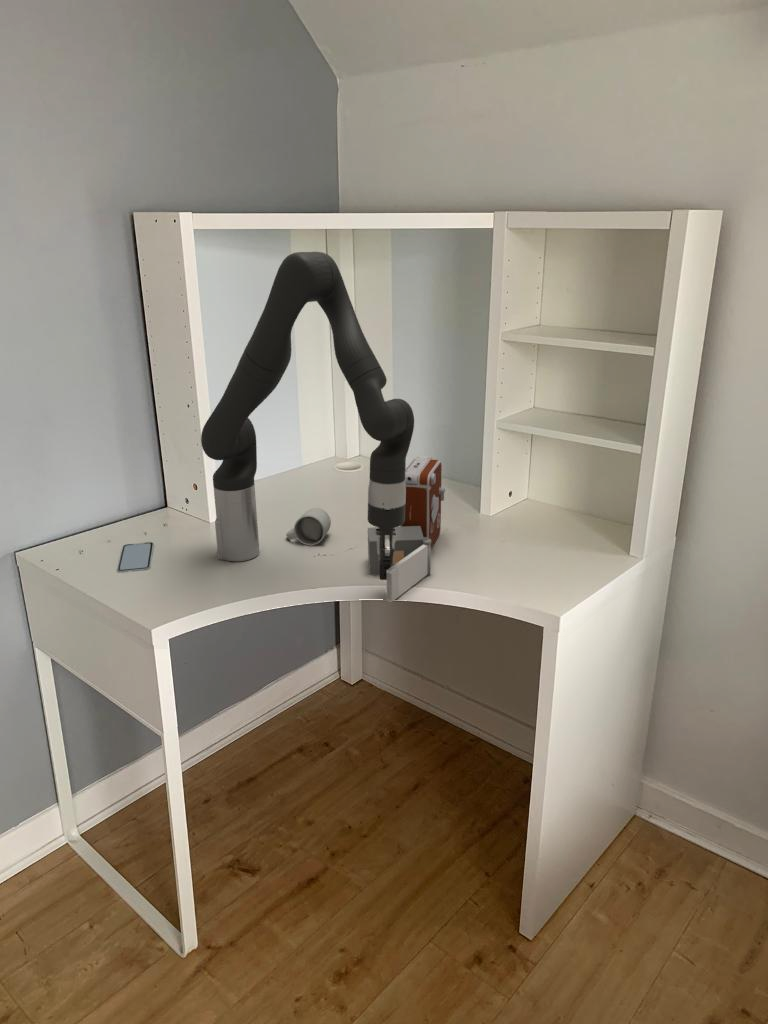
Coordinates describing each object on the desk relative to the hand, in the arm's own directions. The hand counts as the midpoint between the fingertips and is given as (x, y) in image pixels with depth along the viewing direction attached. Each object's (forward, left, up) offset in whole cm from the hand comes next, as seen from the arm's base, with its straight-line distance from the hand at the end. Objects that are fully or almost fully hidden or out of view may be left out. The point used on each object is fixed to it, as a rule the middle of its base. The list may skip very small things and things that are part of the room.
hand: (384, 578), depth 164 cm
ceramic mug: (-17, +32, -4) cm, 36 cm away
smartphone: (-57, +24, -5) cm, 62 cm away
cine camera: (+11, +29, -4) cm, 32 cm away
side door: (+6, +3, -4) cm, 7 cm away
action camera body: (+4, +14, -4) cm, 15 cm away
